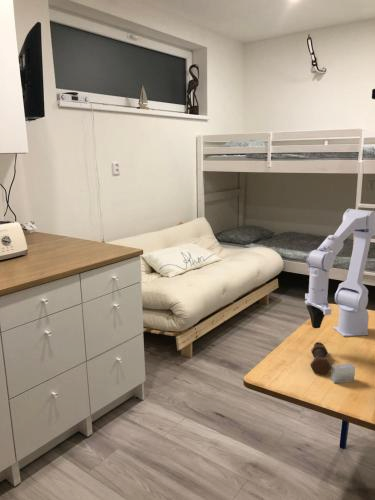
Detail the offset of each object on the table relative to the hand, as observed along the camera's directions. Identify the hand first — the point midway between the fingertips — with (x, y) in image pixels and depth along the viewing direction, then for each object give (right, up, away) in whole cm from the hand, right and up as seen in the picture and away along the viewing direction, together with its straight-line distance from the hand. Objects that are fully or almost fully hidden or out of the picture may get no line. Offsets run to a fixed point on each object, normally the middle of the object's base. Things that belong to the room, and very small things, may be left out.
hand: (316, 327), depth 133 cm
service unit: (+2, -12, -17) cm, 21 cm away
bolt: (-1, -10, -6) cm, 12 cm away
